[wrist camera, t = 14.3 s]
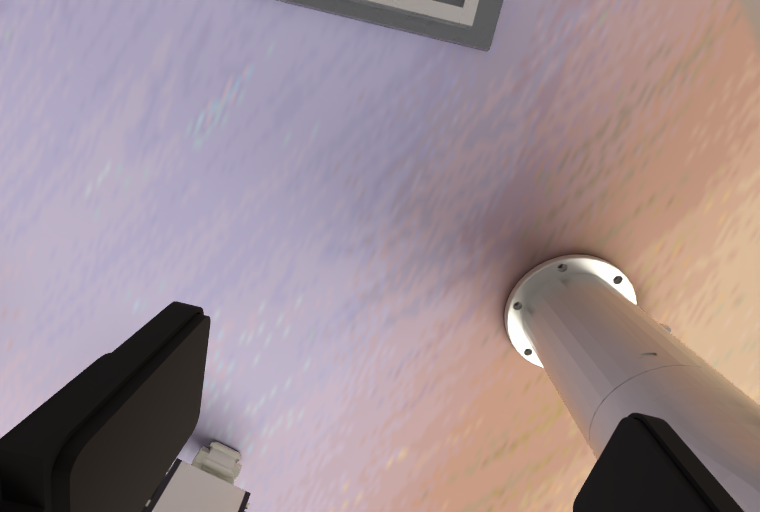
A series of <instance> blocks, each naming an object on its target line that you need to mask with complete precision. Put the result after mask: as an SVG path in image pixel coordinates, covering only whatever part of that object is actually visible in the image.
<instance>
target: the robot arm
mask: <svg viewBox="0 0 760 512" xmlns="http://www.w3.org/2000/svg"><path fill="white" fill-rule="evenodd" d="M560 264H561V265H560ZM559 265H560V266H559ZM558 266H559V267H558ZM516 302H517V303H516ZM514 303H516V304H514ZM504 324H505V328H506V332H507V335H508V337H509V339H510V341H511V343H512V345H513V346H514V348H515V349H516V351H517V352H518V353H519V354H520V355H521V356H522V357H523V358H524V359H526V360H528V361H529V362H531V363H532V364H534V365H537V366H539V367H542V368H544V369H545V371H546V372H547V374H548V376H549V378H550V379H551V381H552V383H553V384H554V386H555V388H556V390H557V391H558V393H559V395H560V396H561V398H562V400H563V402H564V403H565V405H566V407H567V408H568V410H569V412H570V414H571V415H572V417H573V419H574V420H575V422H576V424H577V426H578V427H579V429H580V431H581V433H582V434H583V436H584V438H585V439H586V441H587V443H588V445H589V446H590V448H591V450H592V451H593V453H594V455H595V457H596V459H597V462H596V464H595V466H594V467H593V469H592V471H591V473H590V474H589V476H588V478H587V480H586V481H585V483H584V485H583V486H582V488H581V490H580V492H579V493H578V495H577V497H576V499H575V501H574V504H573V512H760V405H759V404H758V403H756V402H755V401H754V400H753V399H751V398H750V397H749V396H747V395H746V394H745V393H744V392H742V391H741V390H740V389H739V388H738V387H736V386H735V385H734V384H733V383H731V382H730V381H729V380H728V379H726V378H725V377H724V376H723V375H722V374H720V373H719V372H718V371H717V370H715V369H714V368H713V367H712V366H710V365H709V364H708V363H707V362H706V361H704V360H703V359H702V358H701V357H699V356H698V355H697V354H696V353H694V352H693V351H692V350H691V349H689V348H688V347H687V346H686V345H685V344H683V343H682V342H681V341H680V340H678V339H677V338H676V337H675V336H673V335H672V334H671V330H670V328H669V326H667V325H664V324H659V323H657V322H656V321H655V320H654V319H653V318H651V317H650V316H649V315H648V314H646V313H645V312H644V311H643V310H641V309H640V308H639V307H638V306H637V299H636V294H635V291H634V288H633V285H632V284H631V282H630V281H629V279H628V278H627V276H626V275H625V274H624V273H623V272H621V271H620V270H619V269H618V268H617V267H615V266H614V265H612V264H611V263H609V262H607V261H605V260H603V259H601V258H598V257H594V256H589V255H578V254H573V255H565V256H560V257H556V258H553V259H550V260H547V261H545V262H543V263H542V264H540V265H538V266H536V267H535V268H533V269H532V270H530V271H529V272H528V273H526V274H525V275H524V276H523V277H522V278H521V280H520V281H519V282H518V283H517V284H516V286H515V287H514V289H513V290H512V292H511V293H510V296H509V298H508V301H507V303H506V308H505V313H504ZM209 330H210V317H209V316H205V315H204V312H203V309H202V308H201V307H197V306H193V305H189V304H185V303H181V302H172V303H171V304H170V305H168V306H167V307H166V308H165V309H164V310H162V311H161V312H160V313H159V314H158V315H156V316H155V317H154V318H153V319H152V320H150V321H149V322H148V323H147V324H146V325H144V326H143V327H142V328H141V329H140V330H138V331H137V332H136V333H135V334H134V335H132V336H131V337H130V338H129V339H128V340H126V341H125V342H124V343H123V344H122V345H120V346H119V347H118V348H117V349H116V350H114V351H113V352H112V353H108V354H105V355H103V356H102V357H100V358H98V359H97V360H96V361H95V362H94V363H92V364H91V365H90V366H89V367H87V368H86V369H85V370H84V371H83V372H81V373H80V374H79V375H78V376H76V377H75V378H74V379H73V380H72V381H70V382H69V383H68V384H67V385H65V386H64V387H63V388H62V389H61V390H59V391H58V392H57V393H56V394H54V395H53V396H52V397H51V398H50V399H48V400H47V401H46V402H45V403H43V404H42V405H41V406H40V407H39V408H37V409H36V410H35V411H34V412H32V413H31V414H30V415H29V416H28V417H26V418H25V419H24V420H23V421H21V422H20V423H19V424H18V425H17V426H15V427H14V428H13V429H12V430H10V431H9V432H8V433H7V434H6V435H4V436H3V437H2V438H1V439H0V512H141V511H142V510H143V508H144V507H145V505H146V504H147V502H148V500H149V499H150V497H151V496H152V494H153V493H154V491H155V490H156V488H157V487H158V485H159V483H160V482H161V480H162V479H163V477H164V476H165V474H166V473H167V471H168V470H169V468H170V466H171V465H172V463H173V462H174V460H175V459H176V457H177V456H178V454H179V453H180V451H181V449H182V448H183V446H184V445H185V443H186V442H187V440H188V439H189V437H190V435H191V434H192V432H193V431H194V429H195V427H196V424H197V422H198V418H199V414H200V406H201V398H202V389H203V381H204V372H205V364H206V355H207V347H208V338H209Z"/></svg>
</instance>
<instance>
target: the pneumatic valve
mask: <svg viewBox="0 0 760 512" xmlns="http://www.w3.org/2000/svg"><path fill="white" fill-rule="evenodd" d="M209 447H211V449H208V448H206V447H204V446H203V447H201V449H200V450H199V452H198V453H197V455H196V457H195V458H194V460H193V462H192V464H191V465H190V464H188V463H186V462H184V461H182V460H180V459H178V458H177V459H176V461H175V462H174V464H173V465H172V467H171V466H170V468H169V470H168V471H167V472H168V473H167V474H165V476H164V477H163V479H162V480H161V482H160V483H159V485H158V487H157V488H156V490H155V491H154V493H153V494H152V496H151V497H150V499H149V500H148V502H147V504H146V505H145V507H144V508H143V510H142V511H141V512H246V511H244V510H245V509H247V508H248V507H249V503H248V499H249V496H250V494H251V493H249V492H247V491H245V490H243V489H240V488H238V487H236V486H234V485H233V483H234V482H235V480H236V479H237V477H238V475H239V473H240V471H241V468H242V466H241V464H239V463H237V462H235V461H236V460H237V461H239V460H241V455H239V452H237V451H235V450H233V449H231V448H229V447H227V446H225V445H223V444H221V443H219V442H217V441H215V442H212V443H211V445H210V446H209Z"/></svg>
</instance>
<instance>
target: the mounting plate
mask: <svg viewBox="0 0 760 512" xmlns="http://www.w3.org/2000/svg"><path fill="white" fill-rule="evenodd" d="M277 1H281V2H285V3H289V4H293V5H298V6H302V7H306V8H310V9H314V10H318V11H322V12H326V13H331V14H335V15H339V16H343V17H347V18H351V19H355V20H359V21H364V22H368V23H372V24H376V25H380V26H384V27H388V28H392V29H397V30H401V31H405V32H409V33H413V34H417V35H421V36H425V37H430V38H434V39H438V40H442V41H446V42H450V43H454V44H459V45H463V46H467V47H471V48H475V49H479V50H483V51H488V50H489V49H490V46H491V42H492V39H493V35H494V31H495V28H496V24H497V21H498V17H499V14H500V10H501V7H502V3H503V0H277Z"/></svg>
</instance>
